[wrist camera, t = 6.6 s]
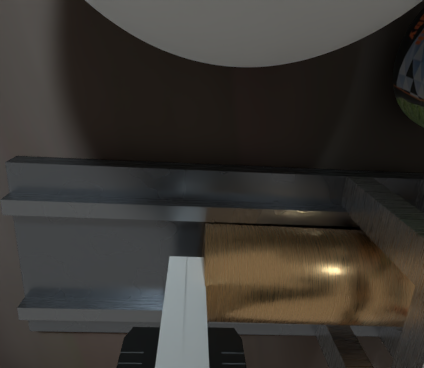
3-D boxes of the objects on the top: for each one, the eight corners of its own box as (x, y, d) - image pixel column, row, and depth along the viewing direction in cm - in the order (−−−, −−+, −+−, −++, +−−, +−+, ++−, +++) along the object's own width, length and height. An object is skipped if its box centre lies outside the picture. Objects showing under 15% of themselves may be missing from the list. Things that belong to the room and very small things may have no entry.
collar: (346, 176, 16) (456, 265, 9) (372, 177, 16) (500, 266, 9) (315, 335, 19) (381, 490, 12) (337, 335, 19) (414, 489, 12)
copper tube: (200, 304, 17) (202, 340, 13) (204, 218, 17) (207, 227, 13) (440, 311, 18) (515, 347, 14) (443, 228, 18) (518, 240, 14)
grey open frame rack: (16, 156, 16) (-5, 167, 14) (500, 176, 17) (532, 189, 16) (38, 317, 19) (22, 342, 17) (448, 324, 20) (470, 349, 19)
